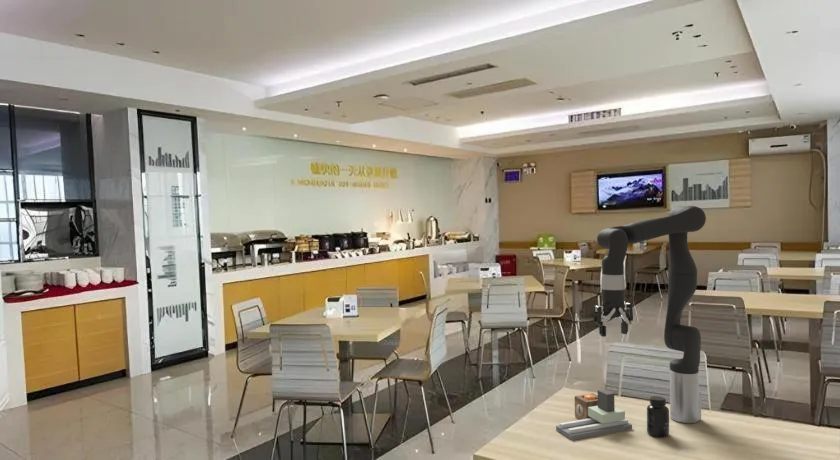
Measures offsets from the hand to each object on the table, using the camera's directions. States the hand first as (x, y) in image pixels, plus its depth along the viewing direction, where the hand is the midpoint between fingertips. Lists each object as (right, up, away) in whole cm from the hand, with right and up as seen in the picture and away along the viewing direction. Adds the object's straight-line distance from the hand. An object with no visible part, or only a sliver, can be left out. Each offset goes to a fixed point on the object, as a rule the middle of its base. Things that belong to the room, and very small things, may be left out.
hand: (613, 335), depth 186 cm
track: (-7, -32, +1) cm, 33 cm away
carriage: (-2, -29, +2) cm, 29 cm away
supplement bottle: (+13, -32, -4) cm, 35 cm away
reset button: (-5, -28, +11) cm, 30 cm away
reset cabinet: (-5, -32, +11) cm, 34 cm away
